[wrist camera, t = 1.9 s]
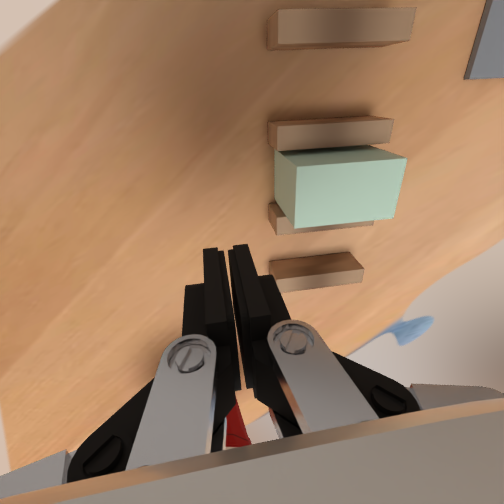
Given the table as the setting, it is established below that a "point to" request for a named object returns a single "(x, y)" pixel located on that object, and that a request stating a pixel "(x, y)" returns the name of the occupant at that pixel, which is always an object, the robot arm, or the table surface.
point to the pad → (488, 44)
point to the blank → (337, 184)
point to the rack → (328, 123)
